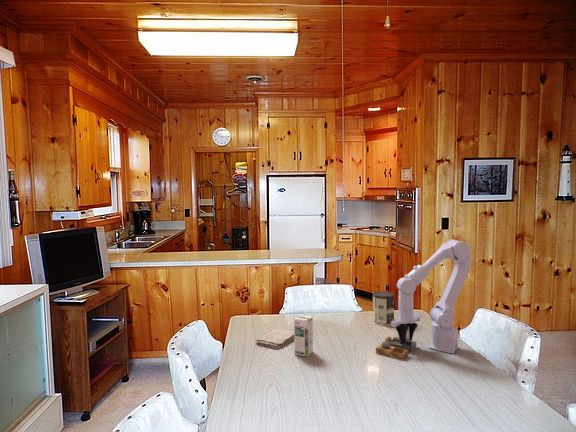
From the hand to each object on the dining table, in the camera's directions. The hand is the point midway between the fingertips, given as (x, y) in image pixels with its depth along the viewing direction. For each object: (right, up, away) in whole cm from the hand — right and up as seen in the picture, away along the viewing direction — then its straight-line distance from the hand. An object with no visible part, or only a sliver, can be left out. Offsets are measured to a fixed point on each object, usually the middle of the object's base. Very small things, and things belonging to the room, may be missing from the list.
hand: (405, 341), depth 155 cm
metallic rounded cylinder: (0, -3, 0) cm, 3 cm away
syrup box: (-41, -4, -3) cm, 42 cm away
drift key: (-4, -3, +4) cm, 6 cm away
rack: (-7, -3, -6) cm, 10 cm away
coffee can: (-1, -2, +33) cm, 33 cm away
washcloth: (-52, -4, +11) cm, 53 cm away
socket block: (-1, -3, +1) cm, 3 cm away
